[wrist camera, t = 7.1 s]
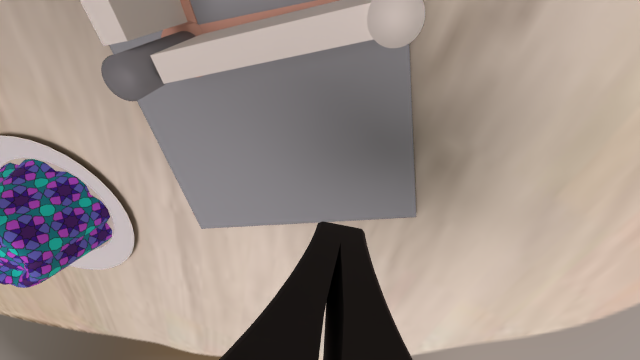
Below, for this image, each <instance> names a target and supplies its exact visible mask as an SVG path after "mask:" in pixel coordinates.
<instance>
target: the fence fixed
mask: <svg viewBox="0 0 640 360" xmlns="http://www.w3.org/2000/svg"><path fill="white" fill-rule="evenodd" d="M80 2H81V4H82V6H83V8H84V10H85V12H86V14H87V16H88V18H89V20H90V21H91V23H92V25H93V27H94V29H95V31H96V33H97V35H98V37H99V39H100V41H101V43H102V45H103V46H106V45H111V44H116V43H120V42H125V41H129V40H132V39H136V38H139V37H142V36H145V35H148V34H151V33H155V32H158V31H161V30H164V29H167V28H170V27H174V26H177V25H180V24H183V23H186V22H188V21H187V18H186V16H185V13H184V10H183V8H182V5H181V2H180V0H80ZM193 37H196V36H195V35H194V34H192V33H190V32H187V31H180V32H177V33H174V34H171V35H168V36H165V37H163V38H160V39H157V40H154V41H151V42H148V43H145V44H143V45H140V46H137V47H134V48H131V49H128V50H126V51H123V52H120V53H117V54H114V55H111V56H109V57H107V58H106V59H105V60H104V61H103V63H102V68H101V71H102V76H103V79H104V81H105V83H106V85H107V86H108V88H109V89H110V90H111V91H112V92H113V93H114V94H115V95H117V96H118V97H120V98H122V99H124V100H127V101H137V100H140V99H141V98H143V97H145V96H147V95H148V94H150V93H152V92H153V91H155V90H157V89H159V88H160V87H162V86H164V85H165V84H167V83H165V84H164V83H163V81H162V79H161V77H160V75H159V73H158V71H157V69H156V67H155V65H154V63H153V61H152V58H151V56H150V55H152V54H154V53H157V52H159V51H162V50H164V49H167V48H169V47H172V46H174V45H176V44H179V43H181V42H184V41H186V40H189V39H191V38H193Z"/></svg>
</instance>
